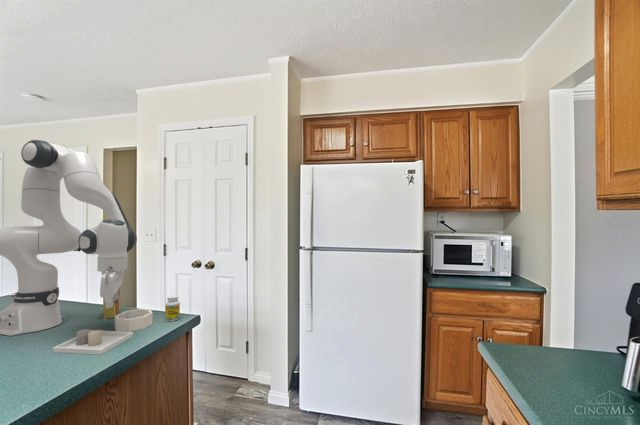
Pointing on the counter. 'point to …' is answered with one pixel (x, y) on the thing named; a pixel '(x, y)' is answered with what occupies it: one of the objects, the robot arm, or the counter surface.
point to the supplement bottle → (172, 308)
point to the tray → (108, 342)
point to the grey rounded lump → (130, 315)
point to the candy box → (112, 308)
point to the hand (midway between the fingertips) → (111, 303)
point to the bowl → (133, 320)
